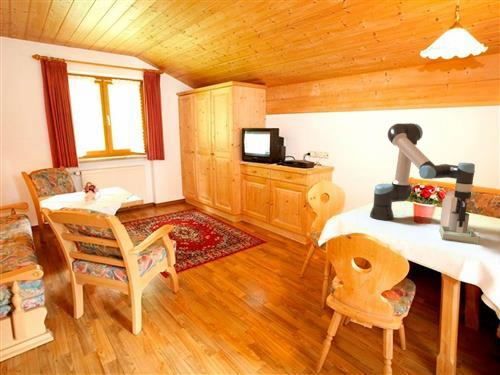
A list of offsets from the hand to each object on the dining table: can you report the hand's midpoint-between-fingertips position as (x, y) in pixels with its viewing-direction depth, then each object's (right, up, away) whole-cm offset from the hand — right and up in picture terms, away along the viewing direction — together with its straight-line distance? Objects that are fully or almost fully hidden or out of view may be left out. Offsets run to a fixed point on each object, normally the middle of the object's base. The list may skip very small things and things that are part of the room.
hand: (458, 229), depth 167 cm
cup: (0, 0, 0) cm, 1 cm away
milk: (+9, 0, +22) cm, 24 cm away
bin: (0, -4, +1) cm, 4 cm away
